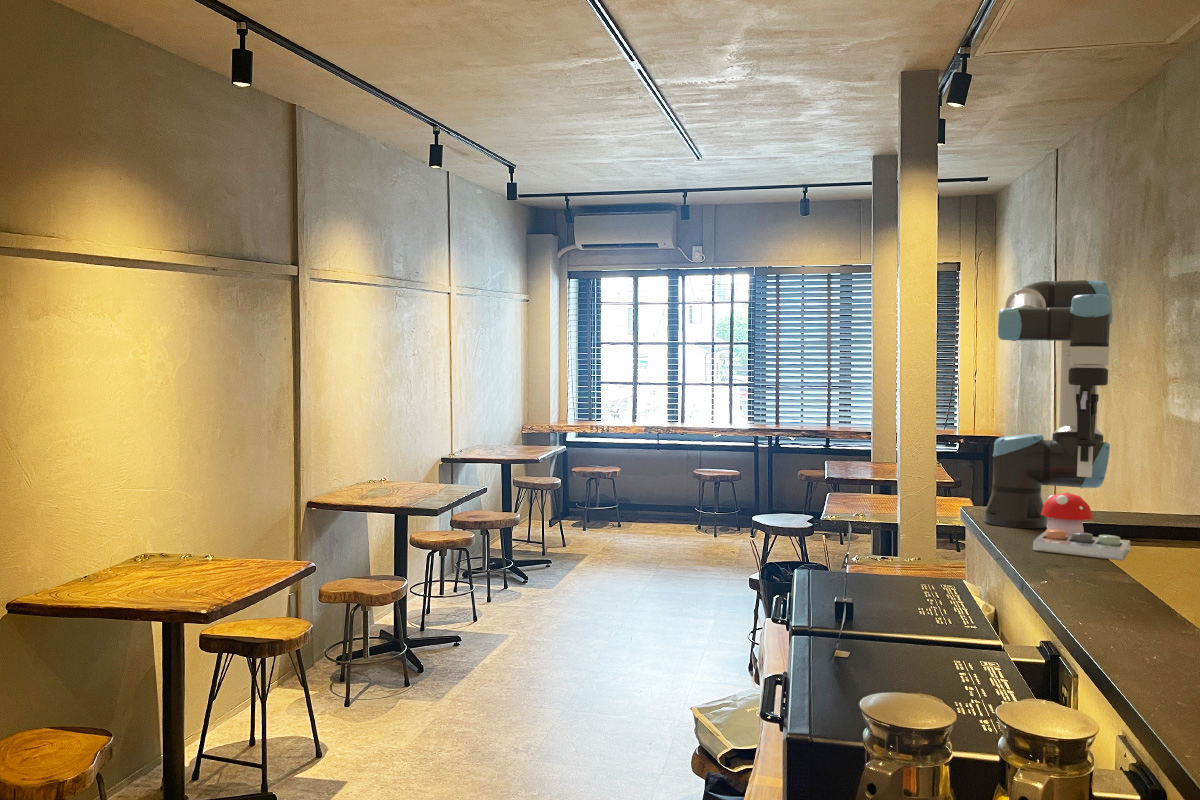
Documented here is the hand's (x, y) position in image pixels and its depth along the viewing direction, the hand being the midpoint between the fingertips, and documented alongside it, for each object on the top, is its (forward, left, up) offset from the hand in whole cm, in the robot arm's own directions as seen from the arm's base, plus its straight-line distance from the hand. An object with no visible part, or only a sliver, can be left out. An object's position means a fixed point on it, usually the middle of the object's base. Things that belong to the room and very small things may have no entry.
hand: (1084, 476), depth 201 cm
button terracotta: (0, -5, -15) cm, 16 cm away
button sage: (0, +5, -15) cm, 16 cm away
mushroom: (-14, -5, -18) cm, 23 cm away
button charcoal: (0, 0, -15) cm, 15 cm away
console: (0, 0, -17) cm, 17 cm away
